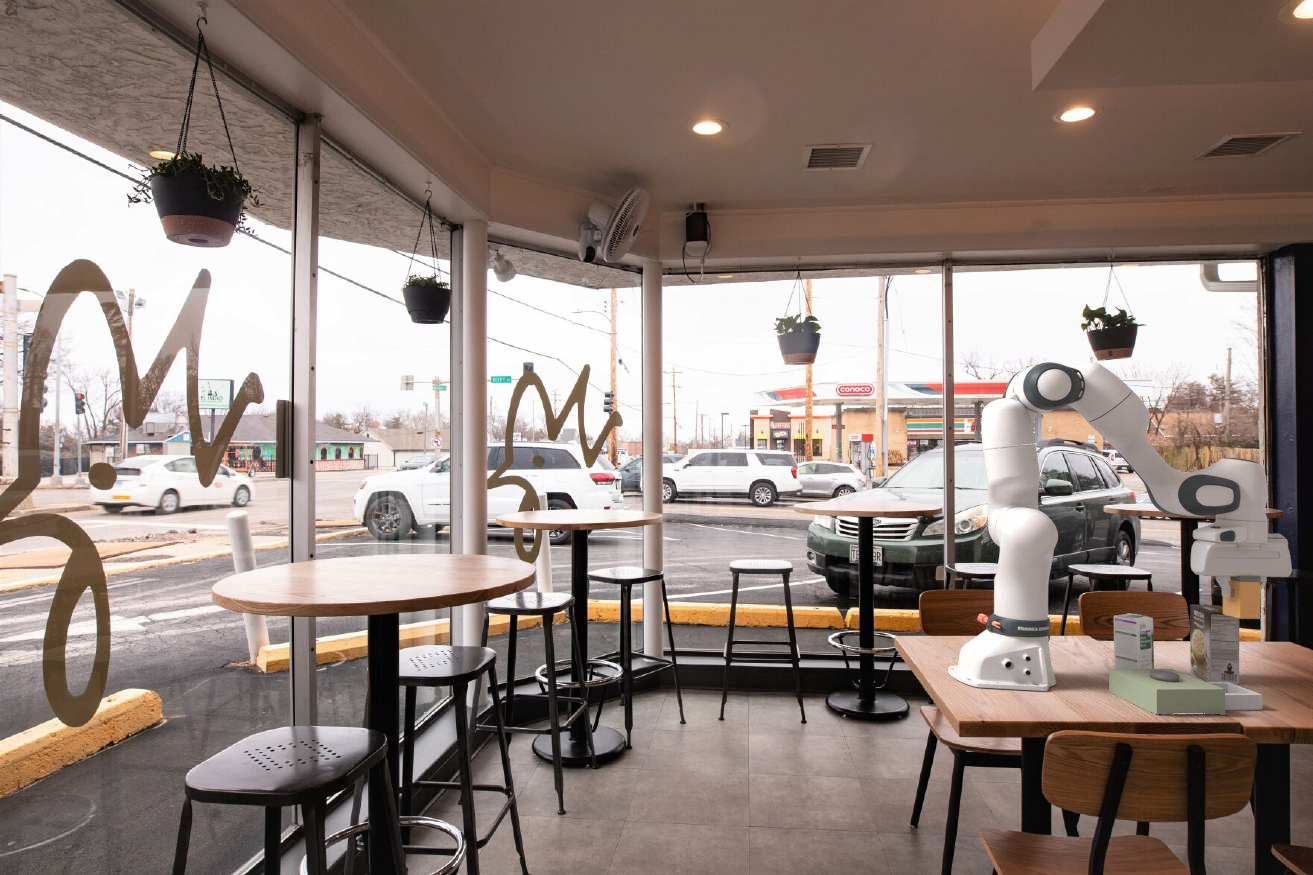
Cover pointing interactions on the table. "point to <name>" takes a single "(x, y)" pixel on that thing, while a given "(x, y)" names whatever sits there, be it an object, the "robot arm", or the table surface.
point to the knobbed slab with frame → (1179, 692)
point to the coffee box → (1214, 644)
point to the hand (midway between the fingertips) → (1241, 597)
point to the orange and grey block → (1243, 598)
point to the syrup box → (1133, 642)
